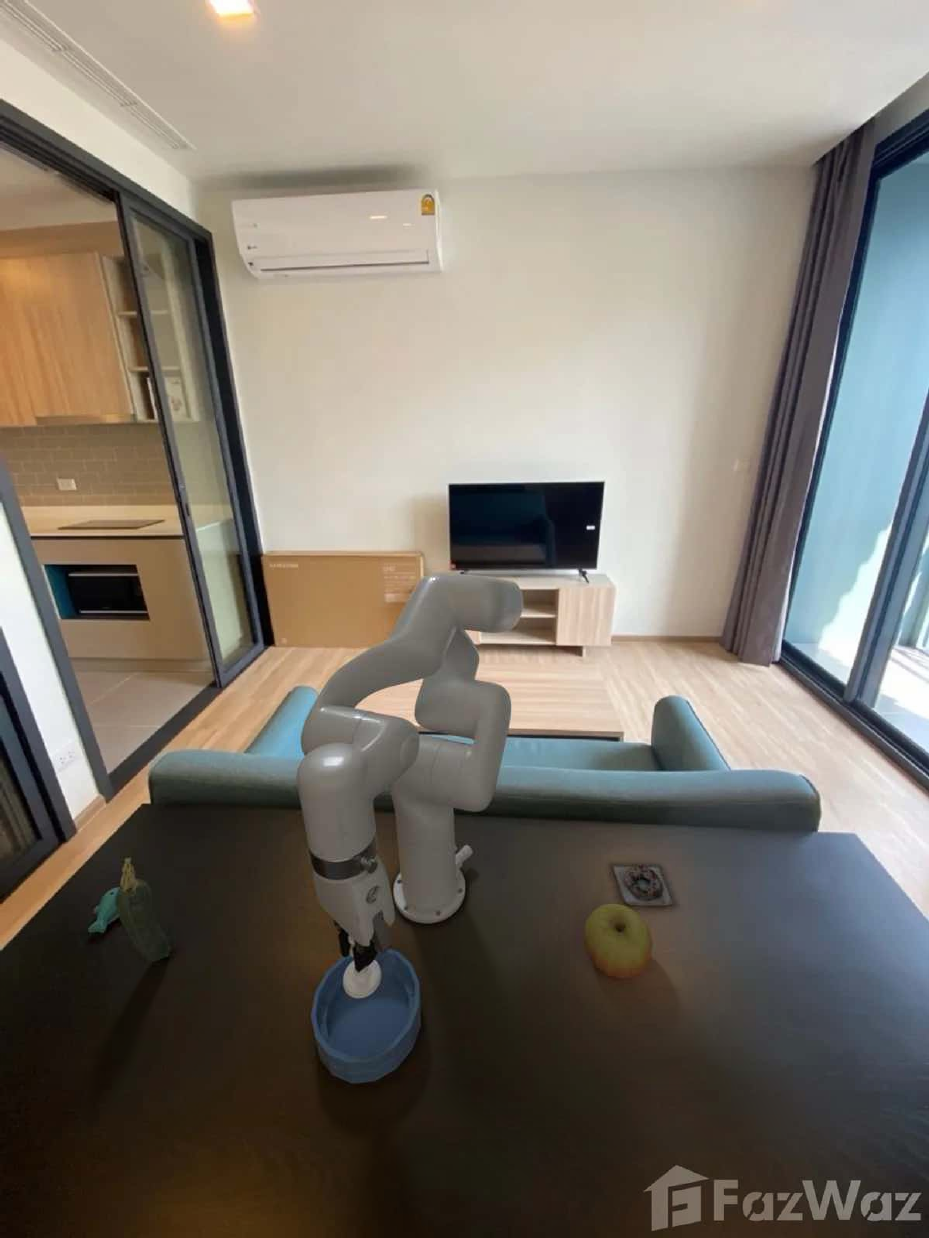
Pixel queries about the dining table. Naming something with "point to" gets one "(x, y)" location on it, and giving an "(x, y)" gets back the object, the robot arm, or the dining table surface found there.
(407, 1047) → the bowl
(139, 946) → the vegetable
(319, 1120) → the dining table surface
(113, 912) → the whale figurine
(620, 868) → the donut
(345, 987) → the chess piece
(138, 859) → the dining table surface
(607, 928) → the apple
